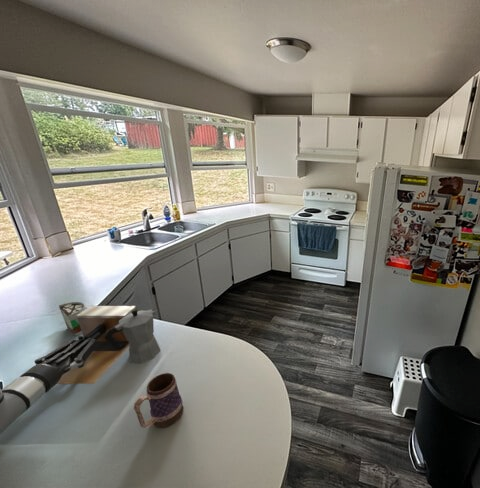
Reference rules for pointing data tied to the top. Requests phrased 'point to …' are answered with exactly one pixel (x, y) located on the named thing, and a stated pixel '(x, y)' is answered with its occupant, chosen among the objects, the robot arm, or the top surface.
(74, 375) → the wooden board
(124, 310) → the brown rectangular block
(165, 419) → the mug
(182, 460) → the top surface
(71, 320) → the food container
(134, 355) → the coffeepot
